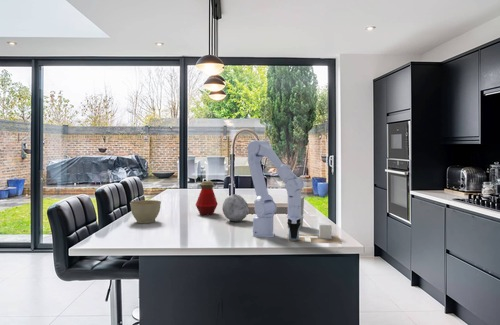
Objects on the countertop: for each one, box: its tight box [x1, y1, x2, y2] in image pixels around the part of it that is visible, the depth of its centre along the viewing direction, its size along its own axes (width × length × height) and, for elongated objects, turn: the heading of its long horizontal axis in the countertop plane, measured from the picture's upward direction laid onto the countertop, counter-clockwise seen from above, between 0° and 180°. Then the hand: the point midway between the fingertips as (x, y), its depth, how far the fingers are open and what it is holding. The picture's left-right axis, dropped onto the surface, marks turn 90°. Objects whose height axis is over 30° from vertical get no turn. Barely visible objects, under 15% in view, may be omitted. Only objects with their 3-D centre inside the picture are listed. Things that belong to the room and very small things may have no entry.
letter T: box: [299, 236, 318, 243], centre depth 158 cm, size 9×10×1 cm
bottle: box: [195, 180, 218, 216], centre depth 219 cm, size 16×14×20 cm
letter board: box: [286, 233, 342, 244], centre depth 158 cm, size 23×14×1 cm, turn 83°
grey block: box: [318, 222, 333, 239], centre depth 160 cm, size 5×5×6 cm
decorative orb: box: [221, 193, 250, 222], centre depth 198 cm, size 15×14×15 cm
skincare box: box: [287, 195, 305, 230], centre depth 182 cm, size 8×7×16 cm
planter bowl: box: [129, 199, 162, 224], centre depth 195 cm, size 16×16×11 cm
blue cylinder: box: [288, 228, 300, 241], centre depth 155 cm, size 4×4×5 cm
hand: (293, 236), depth 155 cm, fingers closed on blue cylinder, 4 cm apart
